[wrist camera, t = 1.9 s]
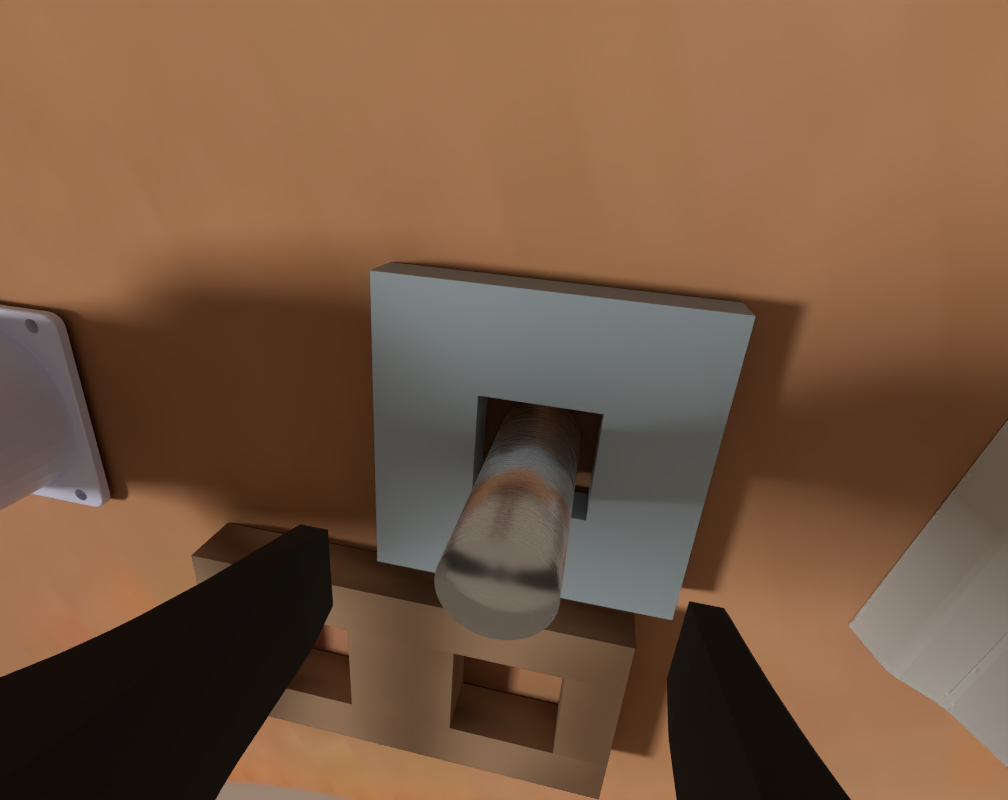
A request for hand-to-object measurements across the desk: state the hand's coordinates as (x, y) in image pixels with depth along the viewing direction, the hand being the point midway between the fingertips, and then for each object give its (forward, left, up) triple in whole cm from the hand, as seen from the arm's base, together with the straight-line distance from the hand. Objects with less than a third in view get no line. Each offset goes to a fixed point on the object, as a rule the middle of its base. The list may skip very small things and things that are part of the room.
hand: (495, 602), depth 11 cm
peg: (0, 0, -7) cm, 7 cm away
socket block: (0, 0, -7) cm, 7 cm away
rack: (-4, -10, -7) cm, 13 cm away
